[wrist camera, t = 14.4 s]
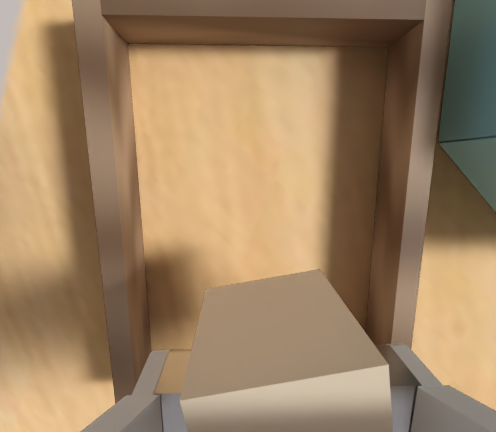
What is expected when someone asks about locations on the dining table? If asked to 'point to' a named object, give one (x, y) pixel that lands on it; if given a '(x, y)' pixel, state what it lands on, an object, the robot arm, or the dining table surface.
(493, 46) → the bowl
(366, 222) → the dining table surface
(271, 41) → the frame
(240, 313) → the beige matte cube
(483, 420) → the robot arm
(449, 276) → the dining table surface
